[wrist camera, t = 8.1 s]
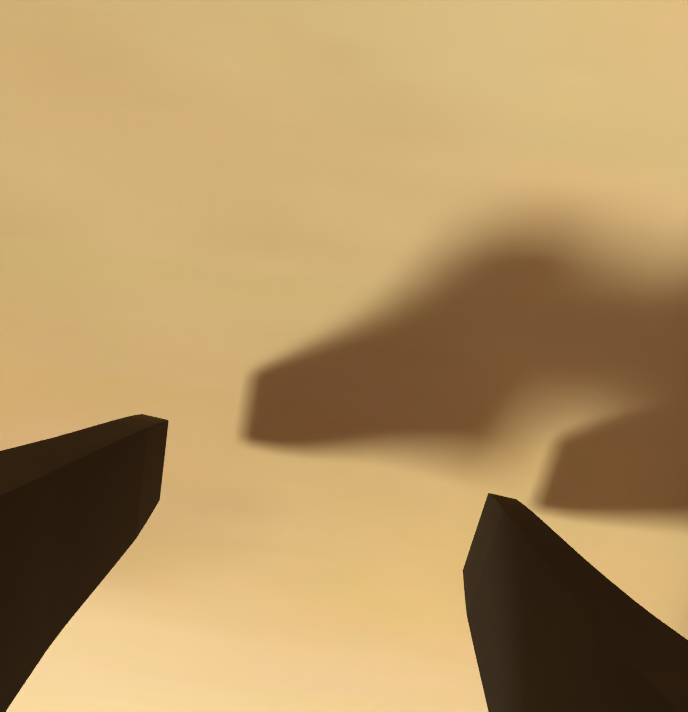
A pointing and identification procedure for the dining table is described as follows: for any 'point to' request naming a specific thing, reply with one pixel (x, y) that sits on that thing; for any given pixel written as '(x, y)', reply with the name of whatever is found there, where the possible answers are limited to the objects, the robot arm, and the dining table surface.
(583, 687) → the robot arm
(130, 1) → the dining table surface
